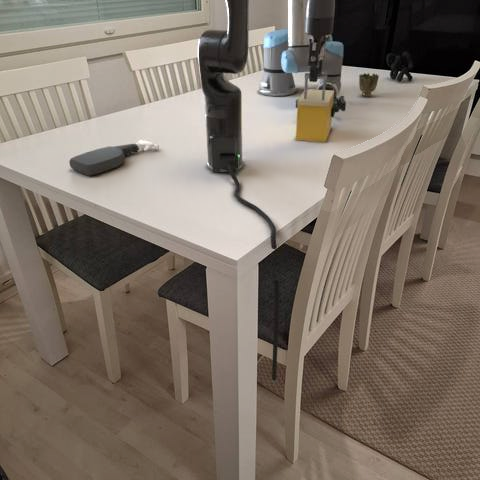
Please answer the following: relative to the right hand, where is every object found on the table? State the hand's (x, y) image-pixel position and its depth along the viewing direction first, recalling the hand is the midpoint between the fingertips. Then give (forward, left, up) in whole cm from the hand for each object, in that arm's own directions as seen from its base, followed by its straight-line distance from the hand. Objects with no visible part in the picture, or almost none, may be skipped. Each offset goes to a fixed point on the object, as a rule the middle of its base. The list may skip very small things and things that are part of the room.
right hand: (316, 111), depth 140 cm
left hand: (+7, -3, +12) cm, 14 cm away
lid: (+3, -1, +5) cm, 6 cm away
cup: (-37, +32, -6) cm, 49 cm away
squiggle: (-61, +57, -6) cm, 83 cm away
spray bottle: (+14, -61, -6) cm, 63 cm away
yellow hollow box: (+3, -1, -6) cm, 7 cm away
